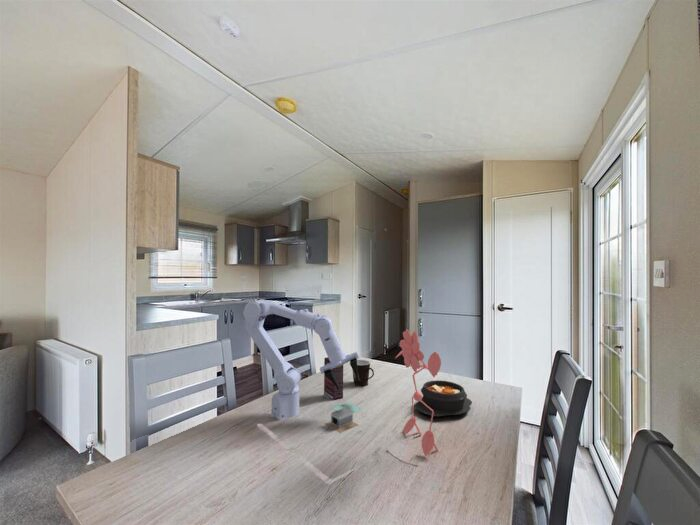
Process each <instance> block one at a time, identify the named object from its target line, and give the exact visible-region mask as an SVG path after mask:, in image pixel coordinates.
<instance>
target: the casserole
mask: <svg viewBox="0 0 700 525" xmlns="http://www.w3.org/2000/svg"><path fill="white" fill-rule="evenodd" d="M420 393H421V394H422V400H421V401H423V402H424V403H425V404H426V405H427V406H428V407H430V408H431V409H432V410H433V412H434V414H433V417H444V416H458V415H463V414H465V413H466V412H468V411H469V410H470V407H471V405H472V404H473V402H472V400H471V399H470V398H468V395H467V392H465V388H464V386H462V385H461V384H459V383H456V382H453V381H449V380H448V381H447V380H428V381H426V382H424V383H423V386H422V388H421V389H420ZM421 401H416V403H415V404H414V403H413V408H414V409H416V410H417V411H419V412H420V413H422V414H425V415H426V416H427V415H428V416H431V417H432V411H431V410H430V409H429V408H428V407H427V406H425V405H424V404H423V403H422V402H421Z"/></svg>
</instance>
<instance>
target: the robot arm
mask: <svg viewBox="0 0 700 525" xmlns="http://www.w3.org/2000/svg"><path fill="white" fill-rule="evenodd" d="M242 315H243V317H244V319H245V328H246V332H247V334H248V335H249V336H250V337H251V339H252V341H253V342H254V344H255V345H256V347H257V348H258V350H259V351H260V353H261V355H262V356H263V357H264V359H265V360H266V362H267V363H268V365H269V366H270V367H271V369H272V370H273V377H274V378H273V379H274V380H275V383H276V386H277V389H278V392H276V393H275V394H273V395H272V397H271V414H270V417H271V418H273V417H274V418H275V419H277V420H278V421H282V420H284V419H285V420H286V419H288V418H294V417H296V416H298V415H299V414H300V387H299V383H300V382H301V380H302V374H301V372H300V371H299V370H298V369H297V368H296V367H294V366H293V364H291V363H290V362H287V360H286V359H285V358H284V356H283V355H282V353H281V351H280V350H279V348H277V346H276V344H275V343H274V342H273V340H272V338H271V336H269V334H268V333H267V331H266V330H265V328H264V322H265V319H266V318H267V316H269V315H276V316H280V317H283V318H287V319H290V320H293V321H294V323H295V324H296V325H297V326H300V327H303V328H306V329H309V330H312V331H314V332H315V334H317V335H318V337H319V339H320V341H321V343H322V346H323V348H324V350H325V353H326V356H327V357H328V358H329V360H330V363H329V364H327V365H325V366H324V365H322V366H321V367H319V371H320V374H322V375H324V373H325V376H326V377H327V378H328V379H329V380H330V381H331V382H332V383H333V384H334V385H335V386H336V388H337V390H339V389H340V386H339V384H338V382H337V380H336V377H335V374H334V372H333V368H336V367H338V366H340V365H343V366H344V365H345V364H348V363H349V366H350V367H351V369H353V370H352V372H353V371H354V373H355V376H356V379H357V381H359V380H360V379H359V375H358V369H357V360H358V359H359V358H360V356H359V353H358V351H355V352H352V353H350V354H345V352H344V350H343V347H342V345H341V343H340V341H339V339H338V336H337V334H336V332H335V329H334V327H333V321H332V318H330V317H328V315H321V314H320V313H314V312H311V311H309V309H307V308H305V309H299V310H295V309H292V308H290V307H287V306H286V305H282V304H279V303H278V302H277V303H276V302H275V301H271V300H266V299H264V298H260V299H258V300H257V299H256V300H255V301H249V302H247V304H245V307H244V309H243V312H242Z"/></svg>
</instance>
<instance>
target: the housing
mask: <svg viewBox="0 0 700 525" xmlns="http://www.w3.org/2000/svg"><path fill="white" fill-rule="evenodd" d="M353 414H354V413H353V412H352V411H350V410H348V409H346V408H343V409H340V410H338V411H335V410H334V411H332V412H331V414H330V417H331V418H330V422H331V425H332V426H334V427H336V428H337V429H341V428H343V427H346V426H348V425H351V424H353V422H354V421H353Z"/></svg>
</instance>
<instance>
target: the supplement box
mask: <svg viewBox="0 0 700 525" xmlns="http://www.w3.org/2000/svg"><path fill="white" fill-rule="evenodd" d="M323 363H324V365H323V366H325V365H327V364H329V363H330V360H329V358H328V356H327V357H324V362H323ZM333 372H334V374H335V377H336V380H337V382H338V384H339V386H340V389H339V390H337V388H336V386H335V385H334V384H333V383H332V382H331V381H330V380H329V379H328V378H327V377H326V376H325V373H323V375H324V376H323V378H324V380H323V396H324V397H325V398H326V399H330V400H332V401H338V400H340V399H343V398H344V364H343V365H340V366H338V367H336V368H333Z"/></svg>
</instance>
